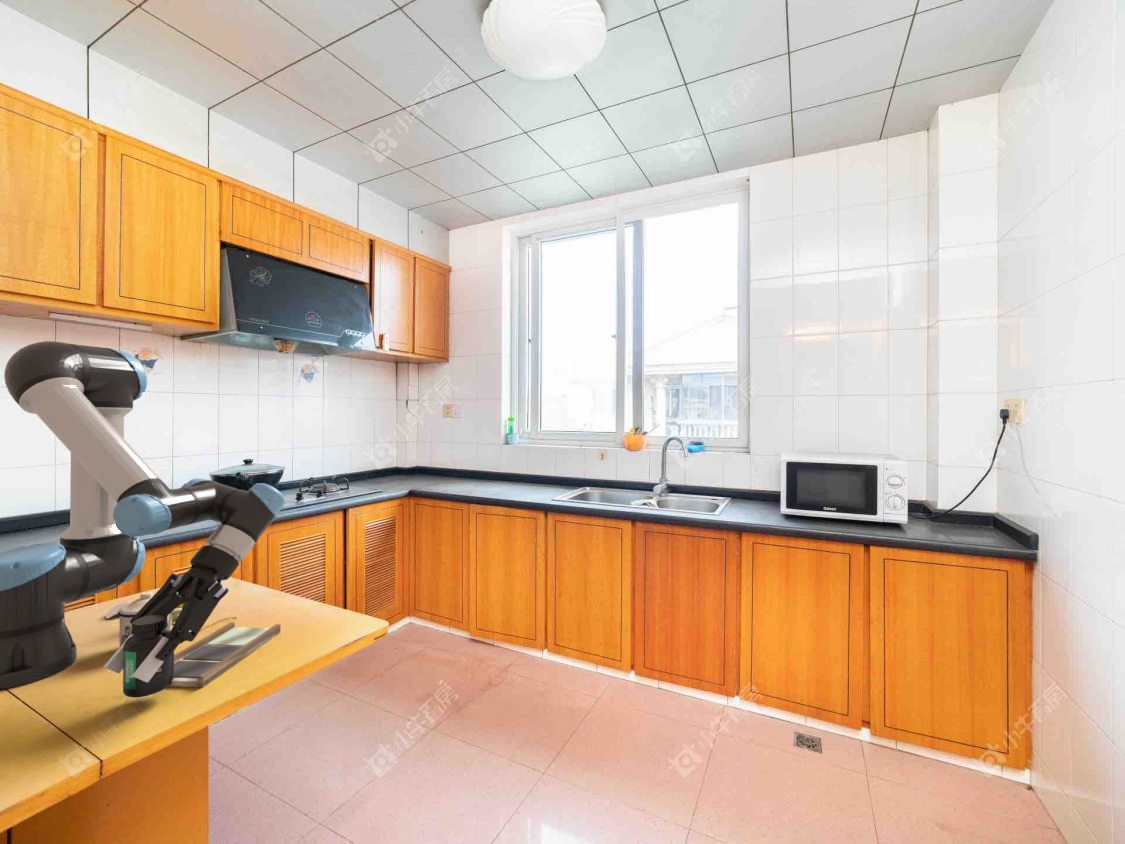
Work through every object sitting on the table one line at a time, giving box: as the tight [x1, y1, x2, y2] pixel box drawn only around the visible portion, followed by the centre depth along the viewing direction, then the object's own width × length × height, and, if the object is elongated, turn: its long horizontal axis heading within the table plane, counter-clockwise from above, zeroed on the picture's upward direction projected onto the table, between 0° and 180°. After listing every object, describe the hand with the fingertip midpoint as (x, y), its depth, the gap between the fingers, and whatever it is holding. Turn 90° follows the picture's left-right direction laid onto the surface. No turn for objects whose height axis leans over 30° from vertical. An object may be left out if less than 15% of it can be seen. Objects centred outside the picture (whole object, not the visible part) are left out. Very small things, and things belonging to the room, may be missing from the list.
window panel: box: [169, 622, 281, 688], centre depth 103 cm, size 12×23×2 cm, turn 177°
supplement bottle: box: [122, 614, 175, 699], centre depth 87 cm, size 7×7×12 cm
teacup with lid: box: [117, 591, 182, 646], centre depth 107 cm, size 12×9×12 cm
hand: (125, 674), depth 83 cm, fingers closed on supplement bottle, 7 cm apart
